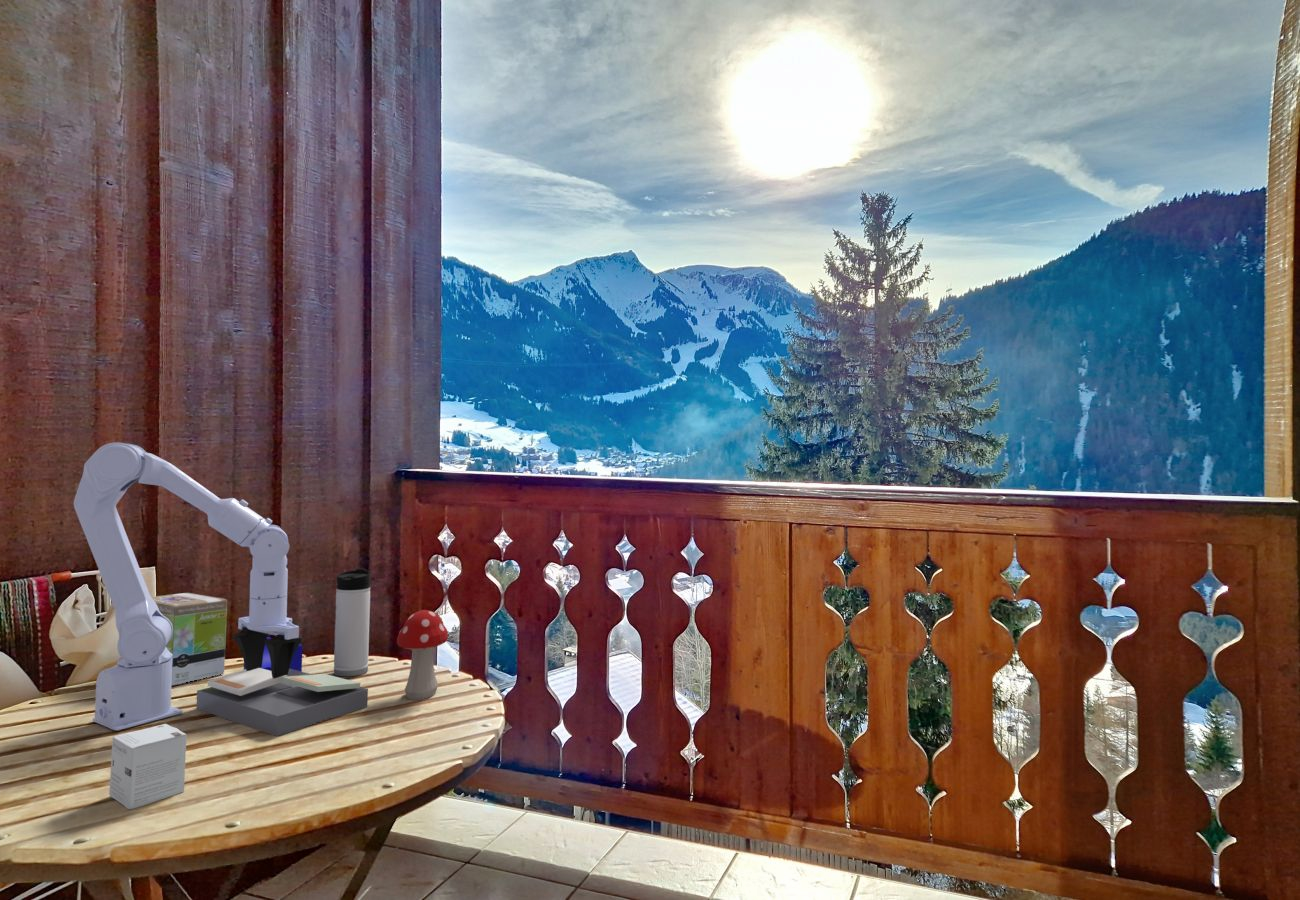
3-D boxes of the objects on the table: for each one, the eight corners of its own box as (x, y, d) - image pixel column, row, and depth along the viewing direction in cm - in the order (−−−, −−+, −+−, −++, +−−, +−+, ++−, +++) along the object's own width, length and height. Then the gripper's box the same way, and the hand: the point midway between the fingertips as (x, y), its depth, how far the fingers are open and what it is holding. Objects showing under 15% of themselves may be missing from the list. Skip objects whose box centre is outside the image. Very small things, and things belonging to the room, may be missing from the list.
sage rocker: (317, 691, 113) (318, 686, 113) (281, 681, 117) (282, 676, 118) (359, 687, 119) (360, 682, 119) (323, 678, 124) (324, 673, 124)
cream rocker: (240, 695, 113) (240, 690, 113) (207, 685, 118) (207, 680, 118) (287, 679, 120) (287, 674, 120) (254, 671, 125) (254, 666, 125)
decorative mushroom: (431, 705, 121) (433, 617, 122) (384, 701, 123) (387, 614, 123) (455, 687, 131) (457, 606, 131) (412, 684, 132) (414, 604, 133)
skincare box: (108, 797, 86) (110, 736, 86) (164, 779, 91) (166, 721, 91) (128, 811, 83) (131, 747, 83) (186, 792, 88) (188, 732, 88)
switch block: (277, 736, 106) (277, 715, 106) (196, 708, 117) (197, 689, 117) (394, 697, 125) (394, 679, 125) (314, 677, 136) (315, 660, 136)
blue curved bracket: (243, 671, 139) (244, 641, 139) (265, 666, 143) (266, 636, 143) (279, 681, 133) (280, 649, 133) (301, 676, 137) (302, 645, 137)
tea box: (226, 674, 137) (229, 598, 137) (170, 688, 128) (173, 606, 128) (185, 662, 144) (188, 590, 145) (129, 674, 136) (132, 597, 136)
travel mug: (374, 668, 143) (377, 569, 143) (357, 677, 136) (361, 573, 137) (345, 666, 143) (348, 568, 144) (327, 676, 137) (330, 572, 137)
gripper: (316, 597, 122) (314, 676, 121) (266, 589, 129) (264, 663, 129) (276, 603, 116) (274, 687, 115) (227, 594, 123) (225, 673, 122)
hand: (266, 675), depth 121 cm, fingers open, 7 cm apart
